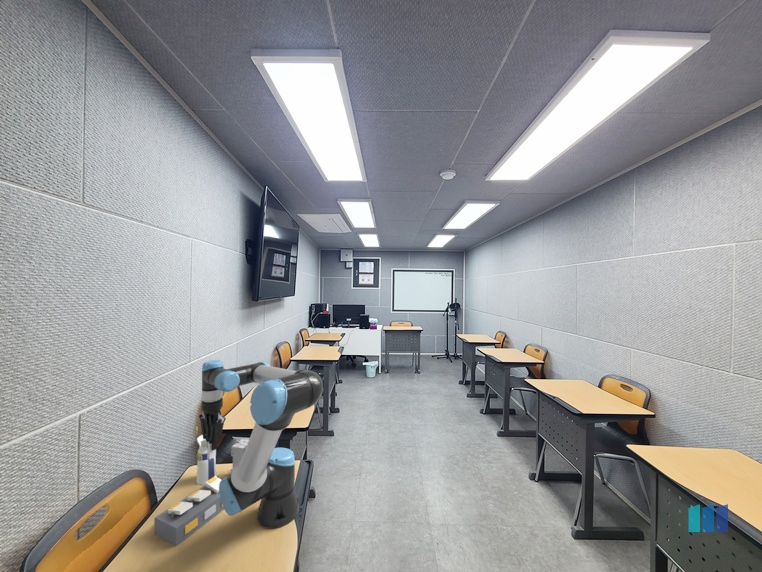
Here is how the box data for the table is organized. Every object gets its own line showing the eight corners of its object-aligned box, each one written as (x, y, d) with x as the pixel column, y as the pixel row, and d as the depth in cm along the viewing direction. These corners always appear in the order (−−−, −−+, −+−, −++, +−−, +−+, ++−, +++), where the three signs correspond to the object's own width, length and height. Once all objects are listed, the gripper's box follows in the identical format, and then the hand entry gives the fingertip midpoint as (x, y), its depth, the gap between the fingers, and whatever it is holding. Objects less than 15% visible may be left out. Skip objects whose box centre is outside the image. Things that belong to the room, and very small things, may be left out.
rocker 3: (226, 486, 118) (227, 483, 118) (216, 493, 114) (217, 490, 113) (214, 478, 120) (215, 475, 120) (204, 485, 116) (205, 481, 116)
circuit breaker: (258, 484, 129) (259, 449, 129) (230, 480, 131) (231, 446, 132) (268, 473, 136) (268, 441, 136) (241, 470, 139) (242, 438, 139)
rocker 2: (210, 493, 111) (210, 490, 111) (199, 501, 107) (199, 497, 107) (198, 493, 114) (198, 489, 114) (187, 500, 110) (187, 496, 110)
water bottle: (203, 487, 126) (204, 429, 127) (191, 481, 130) (192, 425, 131) (221, 476, 134) (221, 421, 135) (209, 471, 138) (209, 418, 138)
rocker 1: (192, 506, 105) (192, 502, 105) (180, 514, 101) (179, 510, 101) (180, 505, 107) (180, 501, 107) (167, 513, 103) (167, 509, 103)
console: (237, 499, 119) (237, 480, 119) (176, 546, 97) (177, 523, 97) (216, 491, 124) (216, 473, 124) (154, 534, 102) (154, 512, 102)
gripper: (231, 398, 120) (231, 456, 119) (210, 393, 125) (209, 449, 124) (215, 404, 113) (214, 466, 112) (192, 399, 118) (191, 458, 117)
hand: (211, 457), depth 118 cm, fingers closed
